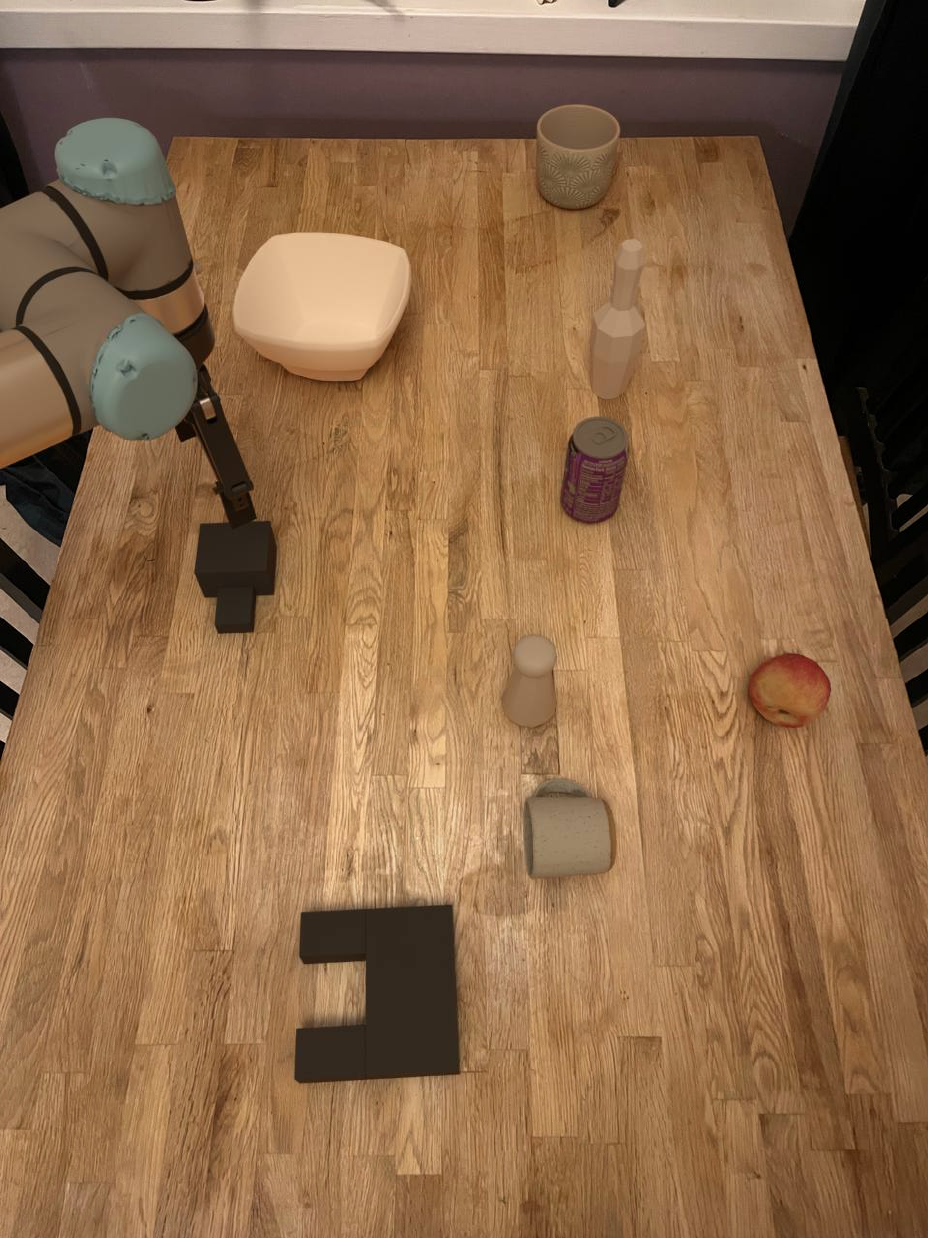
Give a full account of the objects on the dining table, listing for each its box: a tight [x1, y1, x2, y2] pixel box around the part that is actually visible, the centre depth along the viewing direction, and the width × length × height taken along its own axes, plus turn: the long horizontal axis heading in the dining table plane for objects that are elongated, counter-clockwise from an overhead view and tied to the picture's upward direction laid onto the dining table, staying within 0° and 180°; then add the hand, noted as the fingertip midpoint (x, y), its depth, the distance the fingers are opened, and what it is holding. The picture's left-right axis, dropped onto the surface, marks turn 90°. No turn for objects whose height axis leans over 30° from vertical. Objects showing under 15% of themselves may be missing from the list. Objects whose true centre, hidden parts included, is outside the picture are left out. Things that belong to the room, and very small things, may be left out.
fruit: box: [748, 652, 832, 729], centre depth 99 cm, size 8×8×8 cm
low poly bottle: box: [588, 238, 646, 400], centre depth 119 cm, size 6×6×22 cm
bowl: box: [231, 232, 412, 382], centre depth 127 cm, size 22×22×12 cm
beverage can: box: [559, 416, 630, 524], centre depth 113 cm, size 7×7×12 cm
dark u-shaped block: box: [293, 903, 461, 1085], centre depth 86 cm, size 14×14×3 cm
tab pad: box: [193, 520, 278, 635], centre depth 109 cm, size 12×8×5 cm, turn 3°
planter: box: [535, 103, 621, 210], centre depth 147 cm, size 12×12×11 cm
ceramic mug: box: [522, 778, 617, 880], centre depth 92 cm, size 11×8×8 cm
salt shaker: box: [500, 633, 558, 729], centre depth 97 cm, size 6×6×13 cm
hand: (216, 477), depth 99 cm, fingers open, 13 cm apart
